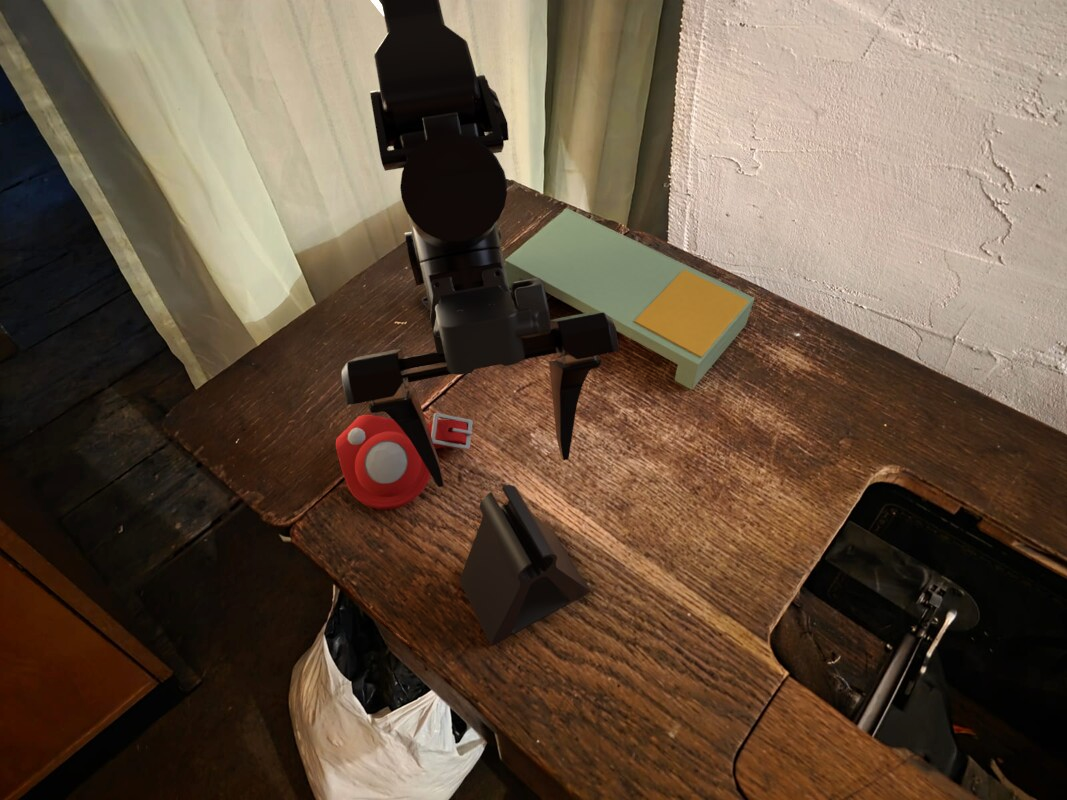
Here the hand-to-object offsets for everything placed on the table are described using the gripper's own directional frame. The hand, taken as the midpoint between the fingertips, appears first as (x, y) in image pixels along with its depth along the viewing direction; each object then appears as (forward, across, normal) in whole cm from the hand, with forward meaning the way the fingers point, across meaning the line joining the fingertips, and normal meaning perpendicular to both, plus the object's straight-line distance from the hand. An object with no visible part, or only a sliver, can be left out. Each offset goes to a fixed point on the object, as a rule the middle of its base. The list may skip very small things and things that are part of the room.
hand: (503, 472), depth 49 cm
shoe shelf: (-9, +17, +25) cm, 32 cm away
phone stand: (+11, 0, +5) cm, 12 cm away
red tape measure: (+1, -8, +15) cm, 17 cm away
